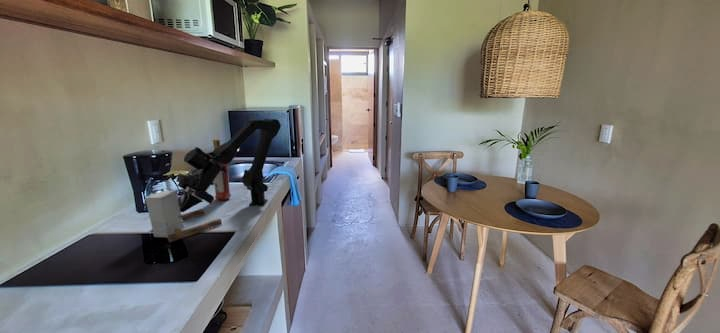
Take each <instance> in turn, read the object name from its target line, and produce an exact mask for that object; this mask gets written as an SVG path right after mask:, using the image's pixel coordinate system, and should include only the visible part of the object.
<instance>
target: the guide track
mask: <svg viewBox="0 0 720 333" xmlns="http://www.w3.org/2000/svg"><path fill="white" fill-rule="evenodd" d="M204 215H205V209H204V208H200V209H196V210H193V211H190V212H185V213H183V214H181V216H182V220H184V221H186V219H187V220H190V219H193V218H196V216H197V217H200V216H204ZM192 217H193V218H192ZM189 218H190V219H189ZM219 224H221V225H222V219H221V218H217V219H214V220H211V221H208V222H204V223H200V224H199V225H196V226H192V227H190V228H186V229H182V230H180V229H179V228H176V229H174V231H175V233H174V234H171V235H168V238H167V241H168V242H169V243H172V242H175V241H179V240H180V239H185V238H186V237H190V236H192V235H195V234H198V233H201V232H204V231H206V229H207V230H209V229H208V228H210V229H212V228H211V227H213V228H215V227H214V226H216V225H218V226H220V225H219ZM216 227H217V226H216Z"/></svg>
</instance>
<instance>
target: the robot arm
mask: <svg viewBox="0 0 720 333" xmlns="http://www.w3.org/2000/svg"><path fill="white" fill-rule="evenodd" d="M280 129H281V123H280V120H278V119H275V118H271V117H265V118H264V119H253V118H250V119H248V120H247V121H246V123H245V124H244V125H243V126H242V127H241V128H240V129H239V130H237V132H236V133H235V134H234V135H232V137H231V138H230V139H229V140H228V141H227V142H224V143H222V144H220V146H219V147H217V148H216V149H215V150H214V149H213V151H210V152H204V150H202V149H201V148H200V147H197V146H196V147H194V148H193V149H192V150H190V151H188V152H186V154H185V156H184V157H183V162H185V163H186V164H188V165H189V166H191V167H193V169H195V170H198V171H199V170H200V172H199V173H195V174H189V173H188V174H185V173H178V175H177V178H176V182H177V183H178V184H177V187H179V188H180V189H182V192H183V199H182V202H181V204H180V211H181V213H185V212H186V211H187V210H189V209H191V208H193V207H194V206H197V205H198V204H200V203H203V202H204V201H205V202H207V203H209V204H210V205H211V204H213V202H214V200H215V197H214V195H212V194H210V193H209V192H208V191H207V190H208V189H209V188H210V186H214V180H215V178H216V177H217V175H218V174H219V173H220V171H221V172H224V173H226V166H224V165H222V166H221V165H219V164H218V163H216V162H220V163H222V164H228V165H229V164H230V163H231V162H232V161H233V160H234V158H235V157H236V155H237V153H238V149H240V147H241V146H242V145H244V143H245V142H246V141H247V140H248V139H249V138H250V137H251V136H252V135H253V134H254V133H255V132H256V131H257V130H259V131H260V139H259V141H258V144H257V149H256V151H255V155H254V158H253V161H252V163H251V166H250V167H249V169H248V170H247V169H245V170H244V172H243V176H242V177H241V179H242V184H243V186H244V187H246V189H247V190H248V191H250V198H251V202H250V203H249V204H248V206H253V205H254V206H255V205H257V206H262V207H263V206H265V204H266V203H267V202H268V199H266V197H265V192H268V191H269V190H268V189H269V186H268V184H267V185H266V184H265V183H264V173H263V170H264V167H265V164H266V160H267V157H268V153H269V151H270V148H271V144H272V142H273V140H274V138H276V136H277V135H278V134H279V131H280ZM210 160H213V161H215V162H214V163H212V162H211V161H210ZM255 207H256V206H255Z"/></svg>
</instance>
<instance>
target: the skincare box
mask: <svg viewBox="0 0 720 333" xmlns="http://www.w3.org/2000/svg"><path fill="white" fill-rule="evenodd" d="M144 199H145V203H146V208H147V211H148V216H149V220H150V224H151V229H152V233H153V237H154V238H166V239H168V235H171V234H174V233H175V231H174V229H176V228H179V229H180V231H182V230H183V229H184V227H185V225H184V221H182V216H181V215H182V212H181V211H180V207H181V205H180V203H179V197H178V193H177V190H162V191H159V192H156V193H153V194H152V195H149V196H146V197H145V198H144Z"/></svg>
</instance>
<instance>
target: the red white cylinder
mask: <svg viewBox="0 0 720 333" xmlns="http://www.w3.org/2000/svg"><path fill="white" fill-rule="evenodd" d="M212 142H213V151H214V150H215V149H216V148H217V147H219V146H220V145H221V140H220V139H219V138H218V139H217V138H215V139H213V140H212ZM210 161H211V162H212V163H214V162H215V161H213V160H210ZM216 163H218V164H219V165H221V166H222V165H224V166H226V173H224V172H221V171H220V173H219V174H218V175H217V177H216V178H215V180H214V181H213V183H214V185H213V187H214V192H215V197H214V199H216V200H217V201H226V200H229V199H230V197H232V194H231V191H230V181H229V163H228V164H222V163H220V162H216Z"/></svg>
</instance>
